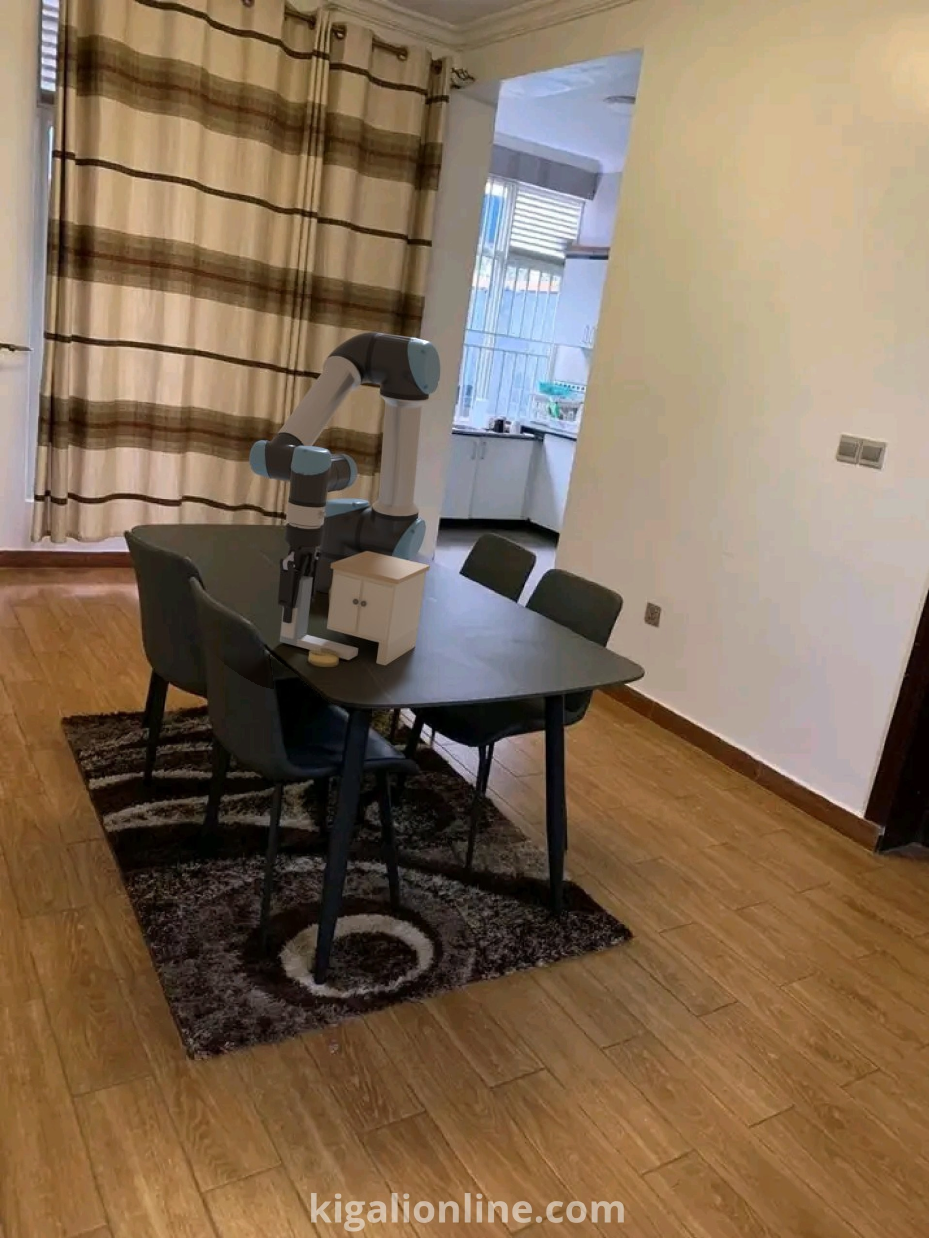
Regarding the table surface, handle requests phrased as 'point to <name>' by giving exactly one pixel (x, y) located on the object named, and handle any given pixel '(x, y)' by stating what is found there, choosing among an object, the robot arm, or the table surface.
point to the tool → (302, 624)
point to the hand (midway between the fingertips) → (293, 633)
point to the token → (323, 657)
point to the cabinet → (378, 601)
